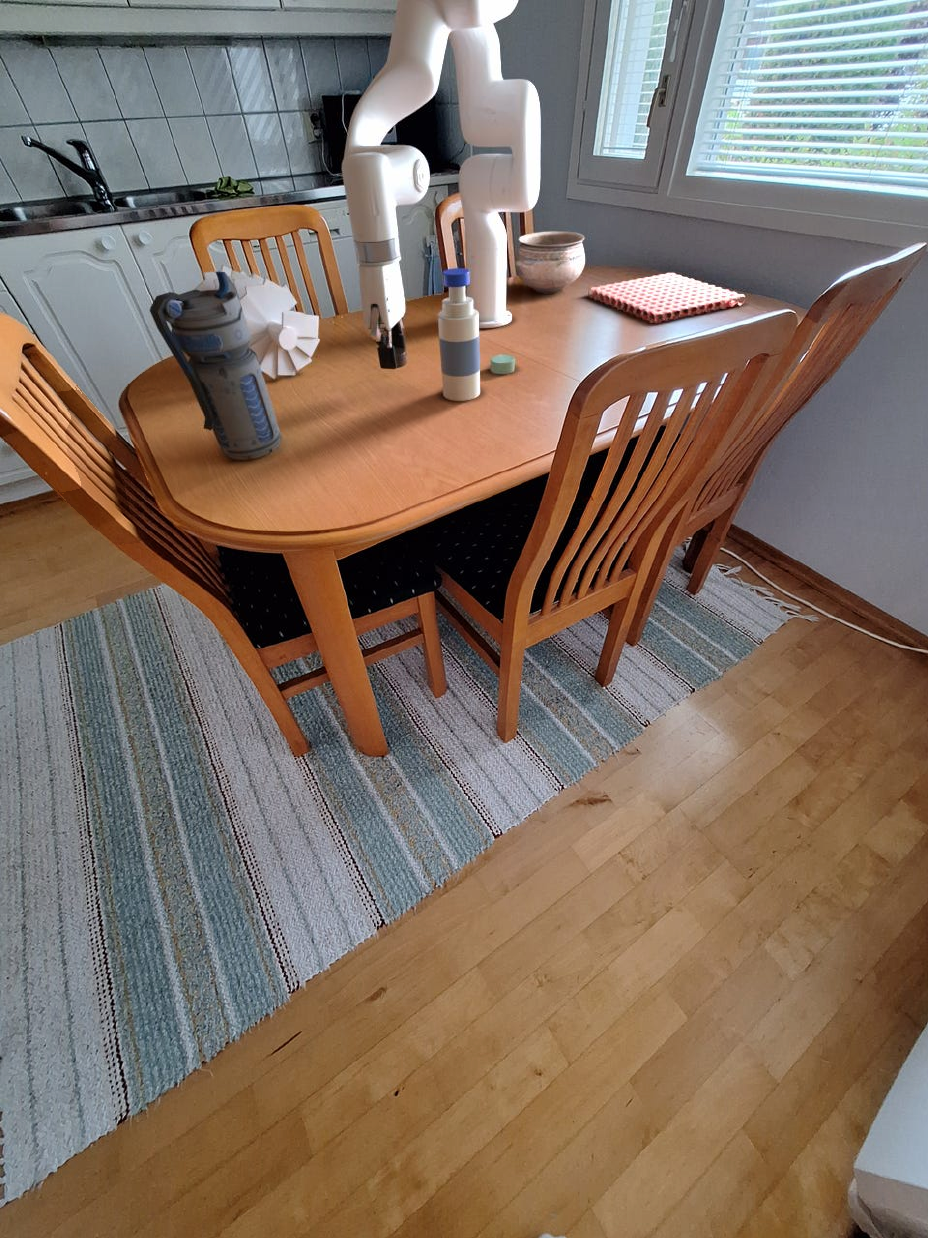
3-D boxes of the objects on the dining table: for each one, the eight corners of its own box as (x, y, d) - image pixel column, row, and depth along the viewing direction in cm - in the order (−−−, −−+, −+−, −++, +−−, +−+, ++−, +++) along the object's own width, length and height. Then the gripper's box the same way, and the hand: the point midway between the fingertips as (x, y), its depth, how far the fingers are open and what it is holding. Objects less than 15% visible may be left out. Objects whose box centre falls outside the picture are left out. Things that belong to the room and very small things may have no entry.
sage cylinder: (486, 367, 111) (486, 356, 110) (508, 363, 112) (508, 352, 111) (496, 376, 108) (496, 364, 106) (518, 371, 109) (518, 360, 108)
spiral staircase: (284, 404, 112) (227, 369, 124) (339, 345, 114) (277, 317, 126) (223, 330, 96) (164, 299, 108) (288, 264, 98) (223, 240, 110)
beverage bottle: (198, 460, 88) (123, 289, 70) (259, 428, 96) (205, 266, 78) (237, 476, 84) (168, 298, 66) (298, 441, 92) (251, 273, 74)
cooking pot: (554, 275, 160) (557, 226, 152) (603, 286, 150) (609, 234, 141) (492, 293, 150) (492, 241, 141) (540, 306, 139) (544, 251, 130)
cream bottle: (437, 389, 104) (428, 269, 90) (471, 382, 106) (468, 263, 92) (450, 404, 100) (443, 279, 85) (486, 396, 101) (484, 272, 87)
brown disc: (378, 361, 104) (376, 350, 102) (402, 356, 105) (400, 345, 103) (385, 370, 100) (383, 358, 99) (410, 365, 101) (408, 353, 100)
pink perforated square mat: (587, 296, 144) (588, 287, 143) (669, 280, 152) (671, 271, 150) (654, 324, 126) (656, 314, 124) (743, 304, 133) (746, 295, 132)
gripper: (374, 238, 95) (390, 345, 109) (337, 264, 84) (359, 379, 97) (414, 238, 94) (425, 346, 107) (381, 264, 83) (397, 381, 96)
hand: (393, 361), depth 102 cm, fingers closed on brown disc, 5 cm apart
